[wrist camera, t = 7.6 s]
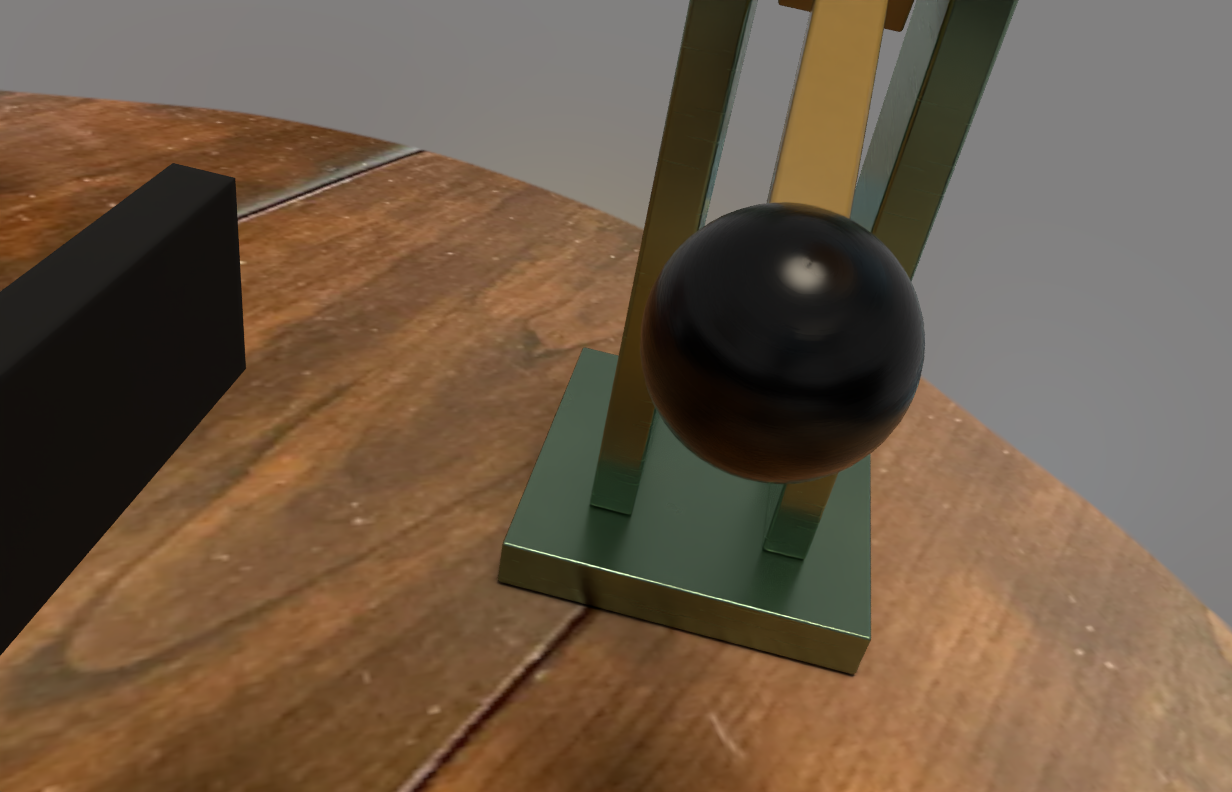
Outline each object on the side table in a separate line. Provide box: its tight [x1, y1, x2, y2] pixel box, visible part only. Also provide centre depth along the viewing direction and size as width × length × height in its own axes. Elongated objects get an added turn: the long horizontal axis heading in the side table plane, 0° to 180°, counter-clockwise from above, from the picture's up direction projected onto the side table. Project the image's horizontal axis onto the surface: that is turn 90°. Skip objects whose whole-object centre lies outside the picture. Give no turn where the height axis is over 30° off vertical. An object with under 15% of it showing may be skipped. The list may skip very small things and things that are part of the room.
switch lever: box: [640, 0, 925, 484], centre depth 16 cm, size 12×4×4 cm, turn 169°
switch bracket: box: [498, 0, 1018, 674], centre depth 22 cm, size 8×8×16 cm
